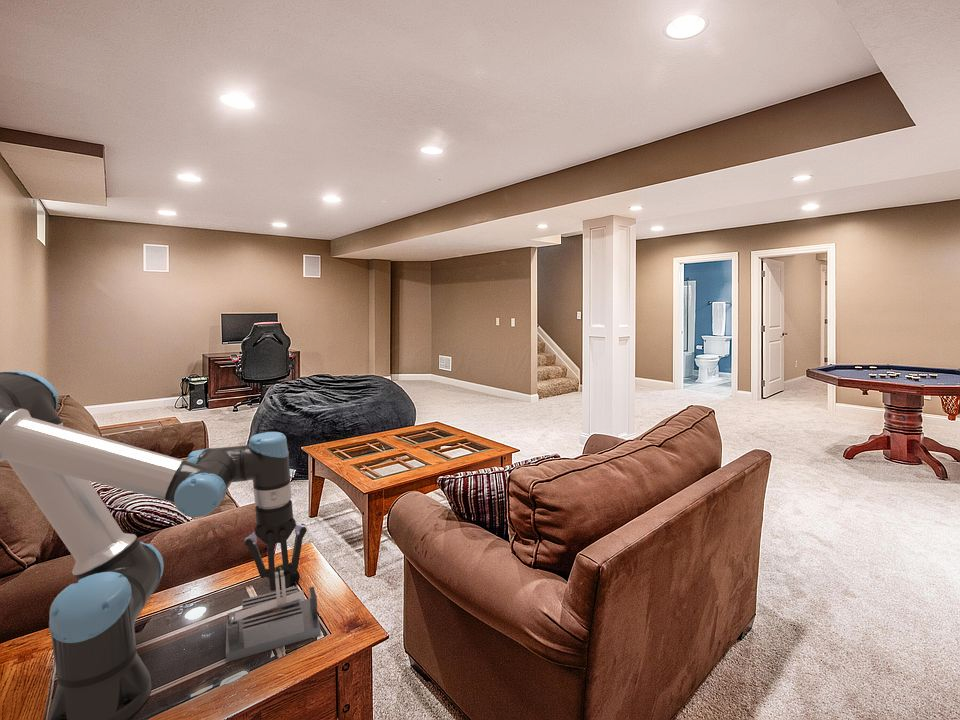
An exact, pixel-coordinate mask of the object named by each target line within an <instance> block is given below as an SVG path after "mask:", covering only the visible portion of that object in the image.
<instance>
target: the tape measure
mask: <svg viewBox="0 0 960 720" xmlns="http://www.w3.org/2000/svg"><path fill="white" fill-rule="evenodd" d="M290 563H291V562H289V564H290ZM280 571H283V563H281V564H278V565H277V566H275V572H278V575H279V586H280V587H281V577H280ZM300 579H301V577H300V572H299V571H298V569H297V570H293V571H291V572H290V583H291V584H290V585H293V584H294V583H297V582H299V581H300Z"/></svg>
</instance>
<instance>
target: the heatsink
mask: <svg viewBox="0 0 960 720" xmlns="http://www.w3.org/2000/svg"><path fill="white" fill-rule="evenodd" d="M298 588H299V587H298V586H292V587H287V588H286V596H287V595H290V594H293V593H296V592H299V589H298ZM308 590H309V591H308V592H309V598H307V599H306V598H305V600H304V601H301V602H299V603H296V604H293V605H290V606H287V607H284V608H281V609H278V610H275V611H272V612H270V613H267V614H264V615H261V616H258V617H255V618H251V619H247V620H243V622H241V623H236V624H232V625H229V615H230V614H231V613H233V612H234V613H236V612H239V611H238V610H236V611H232V612H228V613H227V619H226V624H225V626H226V631H225V662H226V663H230V662H234V661H237V660H241V659H244V658H247V657H250V656H254V655H257V654H260V653H264V652H268V651H271V650H273V649H274V650H275V649H278V648H282V647H284V646H288V645H292V644H295V643H299V642H301V641H306V640H309V639H312V638H317V637H319V636H321V633H322V631H321V629H322V628H321V625H320V624H321V623H320V620H319V617H318V598H317V594H316V591H315V587H314V586H309V587H308ZM281 597H282V590H281V589H280V598H281ZM275 599H277V598H276V591H274V592H273V591H271V592H268V593H265V594H260V595H256V596H251V597H248V598H243V599H242V605H241V606H242V609H241V610H245V609H248V608H251V607H254V606H257V605H260V604H263V603H266V602H269V601H272V600H275Z"/></svg>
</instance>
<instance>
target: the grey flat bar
mask: <svg viewBox="0 0 960 720" xmlns="http://www.w3.org/2000/svg"><path fill="white" fill-rule="evenodd" d="M304 600H306V598H305V593H304V590H303V589H302V590H298V592H296V593H293V594H290V595H287V596H286V601H287V603H285V604H283V600H282V597H281V605H277V599H275V600H272V601H269V602H266V603H263V604H260V605H257V606H254V607H251V608H248V609H245V610H243V609H241V610H239V611H238V612H236V613H234V612H235V611H232V612H233V613H231V612H230V613H231V614H230V615H229V625H232V624H236V623H241V622H243V620H247V619H251V618H255V617H258V616H261V615H264V614H267V613H270V612H272V611H275V610H278V609H281V608H284V607H287V606H290V605H293V604H296V603H299V602H301V601H304Z"/></svg>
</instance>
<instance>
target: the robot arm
mask: <svg viewBox="0 0 960 720" xmlns="http://www.w3.org/2000/svg"><path fill="white" fill-rule="evenodd" d="M58 404H59V396H58V392H57V390H56V388H55V387H54V385H53V384H52V383H51V382H49V380H47V379H46V378H44V377H42V376H41V375H39V374H36V373H33V372H30V371H23V370H10V371H0V463H2V462H4V461H7V463H8V464H9V466H10V467H11V469H12V470H13V472H14V473H15V474H16V476H17V477H18V479H19V480H20V482H21V483H22V485H23V486H24V488H25V489H26V490H27V491H28V493H29V495H30V496H31V498H32V500H33V501H34V502H35V503H36V505H37V507H38V508H39V510H40V511H41V512H42V514H43V515H44V516H45V518H46V519H47V521H48V522H49V524H50V525H51V527H52V528H53V530H54V531H55V533H56V534H57V535H58V537H59V538H60V540H61V541H62V542H63V544H64V545H65V547H66V549H67V550H68V551H69V552H70V554H71V556H72V557H73V559H74V560H75V563H74V566H73V568H72V571H71V574H72V575H73V577H74V578H75V580H76V581H77V582H76V583H70V584H69V585H67V586H66V587H65V588H63V590H61V591H60V592H59V593H58V594H57V595H56V597H54V598H53V599H54V600H52V602H51V605H50V607H49V620H48V628H49V632H50V636H51V644H52V650H53V658H54V665H55V672H56V679H57V686H56V688H55V691H54V695H53V699H52V702H51V706H50V709H49V713H48V720H129V719H130V718H131V717H132V716H133V715H135V714H136V713H137V712H138V711H139V710H140V709H141V708H142V707H143V706H144V704H146V702H147V700H148V699H149V697H150V695H151V692H152V680H151V679H152V678H151V675H150V671H149V669H148V668H147V666H146V665H145V663H144V662H143V660H142V659H141V657H140V655H139V654H138V652H137V651H138V650H137V644H136V634H135V633H136V632H135V623H136V621H137V619H138V617H139V616H140V614H141V612H142V611H143V609H144V608H145V606H146V604H147V602H148V601H149V599H150V598H151V596H152V595H153V594H154V593H155V591H156V590H157V588H158V587H159V584H160V582H161V579H162V576H163V574H164V559H163V556H162V554H161V553H160V550H159V549H157V548H156V547H155V546H154V545H152V544H151V543H144V541H140V539H139V538H138V537H137V535H136V534H134V533H126V532H123V530H122V529H121V527H120V526H119V524H118V522H117V521H116V519H115V518H114V517H113V515H112V513H111V511H110V510H109V509H108V507H107V506H106V504H105V502H104V501H103V500H102V499H101V497H100V495H99V493H98V492H97V491H96V489H95V487H94V486H93V485H92V483H96V484H101V485H105V486H109V487H112V488H115V489H116V488H117V489H120V490H124V491H128V492H132V493H135V494H140V495H145V496H146V497H147V496H148V497H152V498H156V499H159V500H164V501H167V502H171V503H174V506H175V509H177V510H178V511H179V513H180V514H183V515H184V516H185V517H190V518H201V517H205V516H208V515H209V514H210V513H212V512H213V511H214V510H215V509H217V507H218V506H219V505H220V504H221V502H222V501H223V500H224V499H225V496H226V494H227V491H228V490H229V487H230V486H231V484H232V483H238V482H247V481H252V483H253V484H252V486H253V496H254V497H253V499H254V505H255V520H256V525H255V528H254V531H253V532H252V533H251V534H249V535H248V534H247V535H245V537H244V545H245V546H246V548H248V549H249V550H250V553H251V554H252V559H253V561H254V563H255V567H256V569H257V571H258V574H259V577H260V578H261V579H265V578H268V579H269V589H270V590H269V591H271V592H273V591H274V592H276V598H277V605H281V598H280V590H282V600H283V604H285V603H287V601H286V589H287V588H291V585H292V584H291V583H290V572H291V571H293V570H298V568H299V563H300V557H301V551H302V545H303V538H304V537H305V536H306V533H307V531H308V530H307V527H306V526H307V525H306V524H305V523H297V522H296V520H295V518H294V512H293V511H294V510H293V501H292V500H291V499H292V487H291V473H290V472H291V471H290V455H289V453H290V452H289V447H288V440H287V437H286V435H285V434H284V433H282V432H279V431H264V432H262V433H261V432H260V433H257V434H254V435H252V436H251V437H250V438H249V443H248V444H245V445H237V446H225V447H207V448H205V449H204V448H203V449H198V450H197V449H196V450H194V451H191V452H190V453H189V454H188V456H187V460H184V459H182V458H181V459H180V458H177V457H173V456H170V455H167V454H162V453H159V452H156V451H153V450H149V449H145V448H141V447H138V446H135V445H131V444H127V443H124V442H120V441H116V440H113V439H109V438H105V437H102V436H99V435H95V434H91V433H88V432H84V431H81V430H77V429H74V428H71V427H67V426H63V425H64V423H63V421H62V420H61V418H60V416H59V415H58V412H56V411H57V409H58ZM293 532H294V533H295V537H294V542H293V543H294V544H293V548H292V549H293V550H292V557H291V562H289V552H288V541H287V540H288V539H289V538H290V536H291V535H292V533H293ZM258 539H260V541H262V542H263V543H264V544H265V545H266V547H267V564H268V567H267V568H266V567H265V564H264V560H263V558H262V556H261V555H262V554H261V553H260V550H259V546H258V544H257V543H258ZM276 544H280V551H281V560H282V561H281V563H282V564H283V571H280V577H281V586H279V575H278V572H275V567H276V566H275V565H276V563H275V547H274V546H275V545H276ZM289 563H290V564H289Z"/></svg>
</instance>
